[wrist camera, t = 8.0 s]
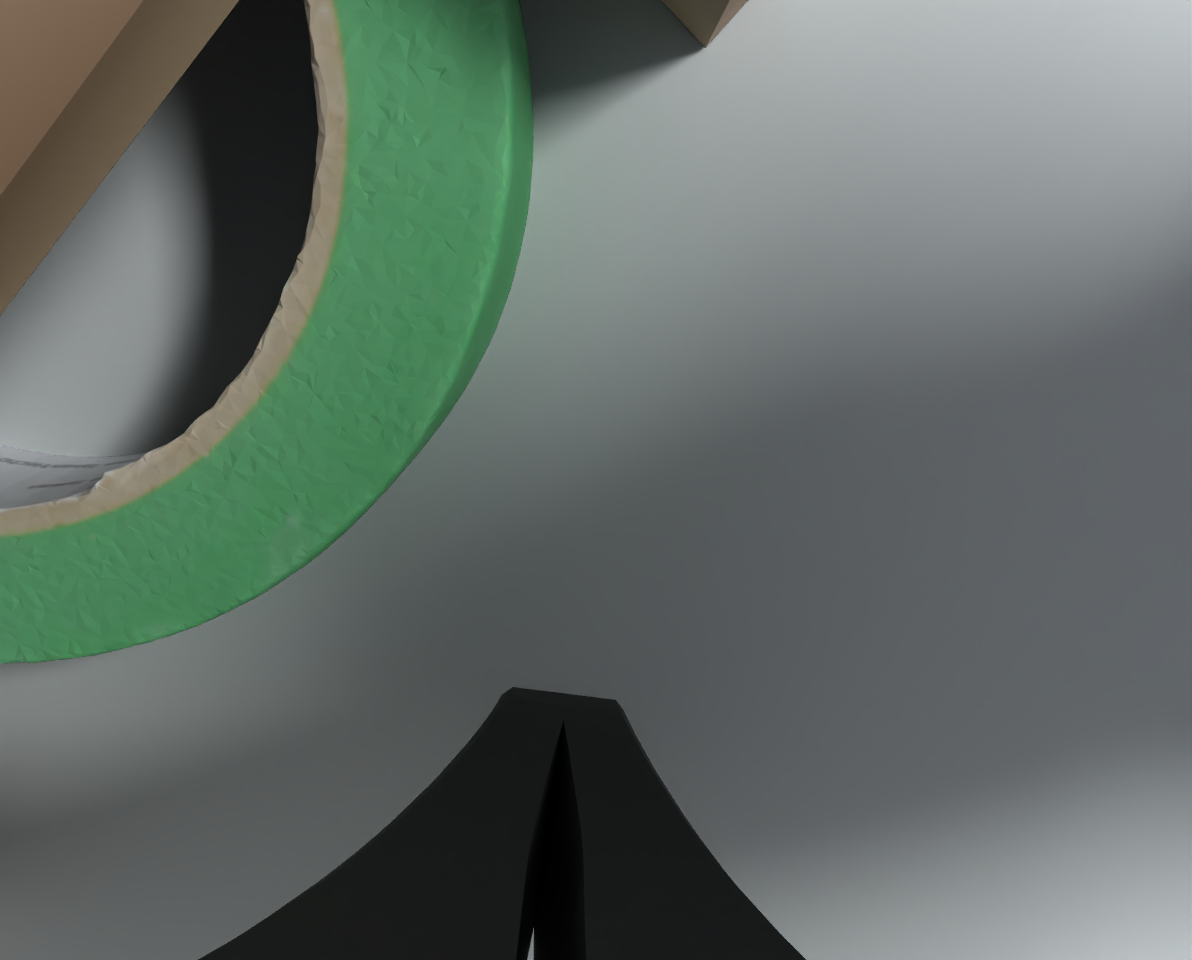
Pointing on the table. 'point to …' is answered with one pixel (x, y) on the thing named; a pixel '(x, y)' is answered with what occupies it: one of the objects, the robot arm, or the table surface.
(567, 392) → the table surface
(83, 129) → the low shelf
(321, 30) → the tape roll
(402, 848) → the robot arm
